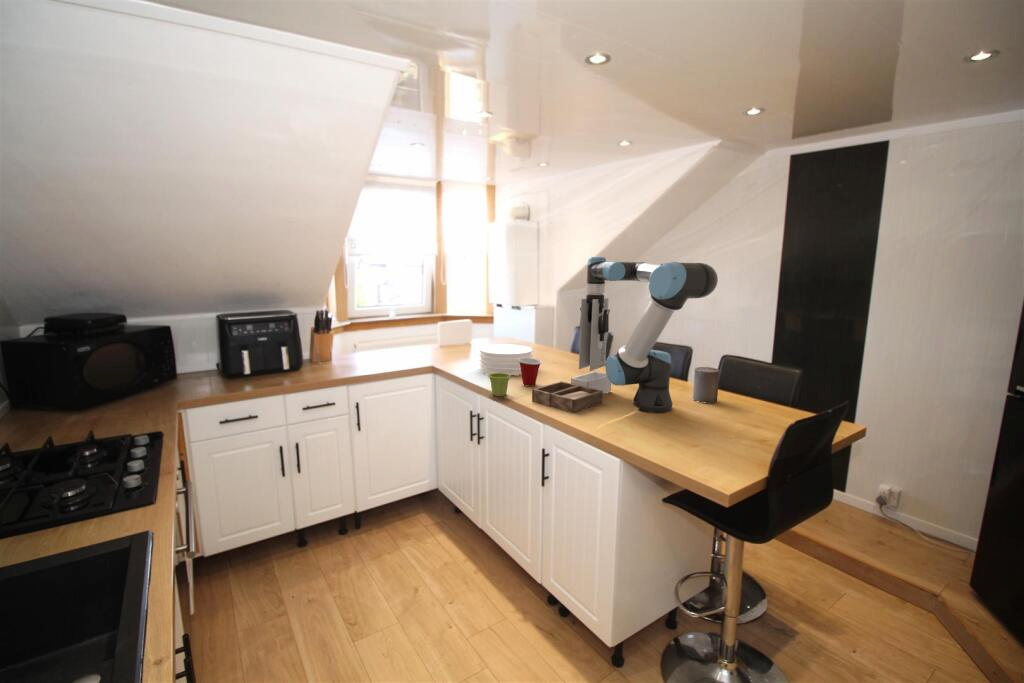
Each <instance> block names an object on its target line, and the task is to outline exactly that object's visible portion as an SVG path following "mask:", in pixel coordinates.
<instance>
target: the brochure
mask: <svg viewBox="0 0 1024 683" xmlns="http://www.w3.org/2000/svg"><path fill="white" fill-rule="evenodd" d="M609 299H610V298H608V297H607V298H606V297H604V304H603V306H604V308H605V309H609ZM580 300H581V303H580V304H581V305H580V308H581V311H580V318H581V322H580V321H579V350H578V354H579V356H578V370H581V369H585V368H588V367H589V372H593V371H595V370H598V369H602V368H603V367H605V363H606V360H607V358H606V357H607V341H608V335H607V334H608V332H607V333H605V334H604V341H602V349H597V338H598V334H599V329H598V320H599V317H600V316H601V315H602V321H603V311H602V313H601V314H599V304H600V303H598V299H595V300H594V299H593V302H592V320H591V323H589V322H588V309H589V303H587V299H586V298H581V299H580Z"/></svg>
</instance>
